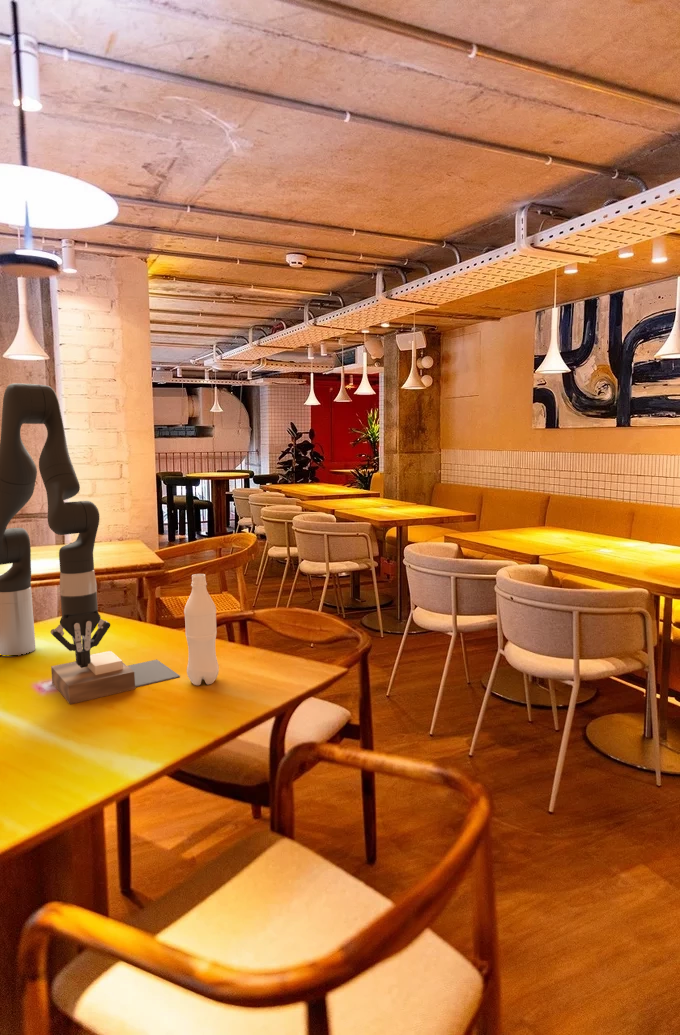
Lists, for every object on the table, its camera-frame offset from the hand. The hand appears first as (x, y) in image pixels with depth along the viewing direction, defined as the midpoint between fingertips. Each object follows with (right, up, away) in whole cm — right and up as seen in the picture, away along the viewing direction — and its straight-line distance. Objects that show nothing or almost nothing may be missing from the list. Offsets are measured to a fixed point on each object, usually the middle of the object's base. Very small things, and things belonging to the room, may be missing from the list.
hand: (83, 666), depth 149 cm
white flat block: (+4, -1, +3) cm, 5 cm away
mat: (+11, -4, +9) cm, 15 cm away
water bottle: (+26, -4, +3) cm, 27 cm away
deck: (+2, -5, +2) cm, 5 cm away
